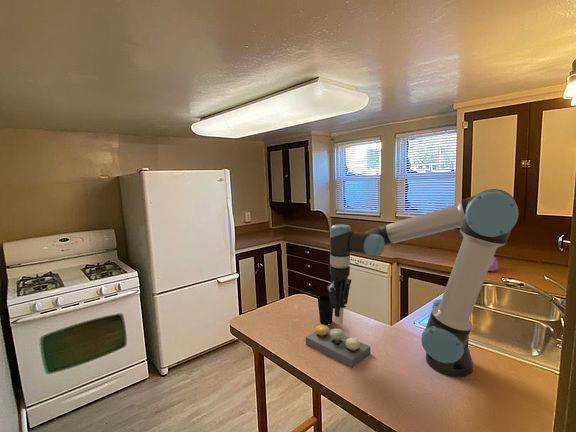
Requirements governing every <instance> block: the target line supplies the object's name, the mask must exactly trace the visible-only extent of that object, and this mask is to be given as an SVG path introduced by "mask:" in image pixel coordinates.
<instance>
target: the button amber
mask: <svg viewBox="0 0 576 432" xmlns="http://www.w3.org/2000/svg"><path fill="white" fill-rule="evenodd" d="M328 326H329V325H323V324H319V325H316V327H315V331H316V333H317V334H318V335H319V336H320V337H321V338H325V335H327V334H328V333H329V329H330V328H329V327H328Z"/></svg>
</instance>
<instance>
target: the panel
mask: <svg viewBox="0 0 576 432" xmlns="http://www.w3.org/2000/svg"><path fill="white" fill-rule="evenodd" d="M331 330H332V328H329V333H328V334H327V335H325V338H321V337H320V336H319V335H318V334H317V333H316V330H315V331H314V332H312V333H309V334H308V335H306V336H305V344H306V345H307V346H309V347H312V348H313V349H315V350H317V351H319V352H321V353H322V354H325V355H326V356H329V357H330V358H332V359H335V360H336V361H339V363H343V364H345V365H346V366H348V367H350V368H354V367H356V366H357V365H358V364H359V363H361V361H363V360H364V359H366V358H367V357H368V356H370V355H371V350H372V349H371V346H370V345H368V344H366V343H364V342H361V341H360V348H359V349H356V352H355V353H353V352H351V351H350V349H348V348H347V347H346V339H348V338H351V337H349V336H347V335H345V334H343V338H342V339H340V343H338V344H336V343H334V339H333V338H331V337H330V331H331Z"/></svg>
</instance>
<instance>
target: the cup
mask: <svg viewBox="0 0 576 432" xmlns="http://www.w3.org/2000/svg"><path fill="white" fill-rule="evenodd" d="M317 305H318V315H319V323H320V325H323V324H324V325H326V326H329V325H328V324H330V325H332V324H333V313H334V308H331V305H330V298H329V294H320V295H318V296H317ZM331 323H332V324H331Z"/></svg>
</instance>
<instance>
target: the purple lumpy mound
mask: <svg viewBox="0 0 576 432" xmlns="http://www.w3.org/2000/svg"><path fill="white" fill-rule="evenodd" d="M498 268H499V262H498V261H497V257H495V256H494V257H493V259H492V262H491V264H490V267H489V270H488V272H491V273H494V272H495V271H496V270H498Z"/></svg>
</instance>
